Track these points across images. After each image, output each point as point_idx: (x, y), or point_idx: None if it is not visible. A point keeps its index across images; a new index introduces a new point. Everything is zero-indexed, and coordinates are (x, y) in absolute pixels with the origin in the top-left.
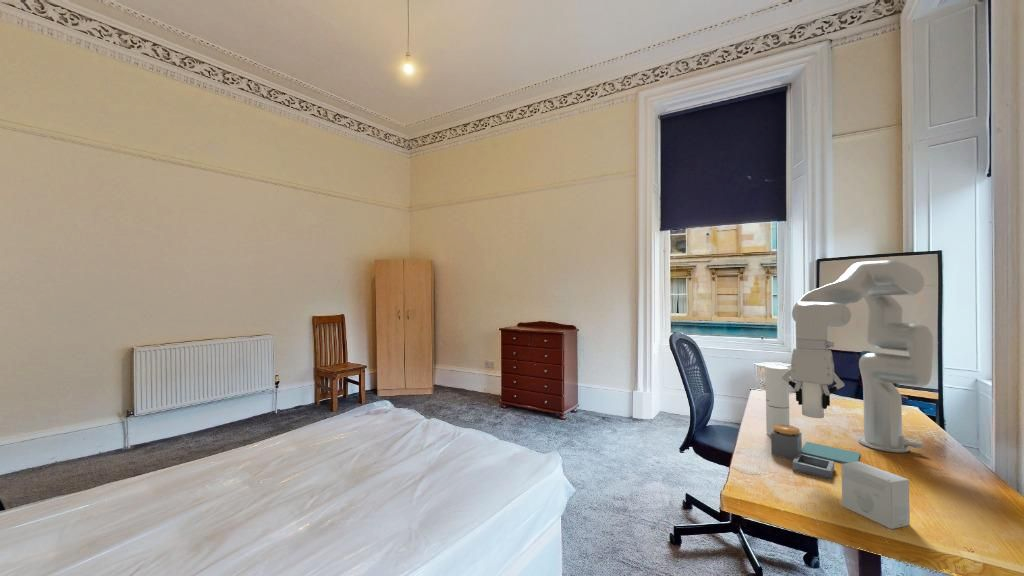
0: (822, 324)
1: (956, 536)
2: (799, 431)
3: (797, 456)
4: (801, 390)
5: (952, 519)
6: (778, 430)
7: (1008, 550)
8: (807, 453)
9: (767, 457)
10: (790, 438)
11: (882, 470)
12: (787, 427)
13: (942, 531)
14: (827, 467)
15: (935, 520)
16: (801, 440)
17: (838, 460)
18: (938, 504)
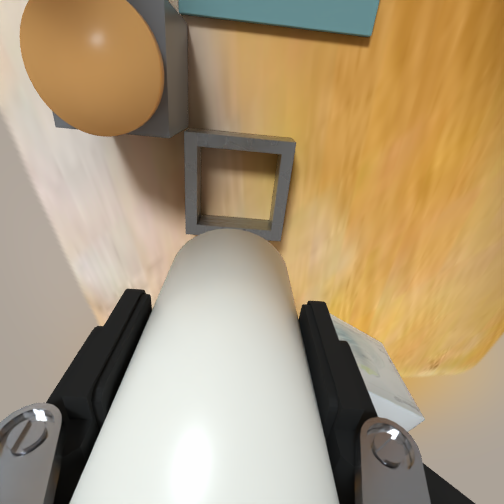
0: None
1: (437, 339)
2: (161, 69)
3: (189, 172)
4: (94, 426)
5: (468, 282)
6: (77, 126)
7: (491, 339)
8: (206, 15)
9: (104, 159)
10: (142, 135)
11: (387, 405)
12: (94, 52)
13: (424, 335)
14: (274, 216)
15: (433, 303)
16: (174, 13)
17: (313, 29)
18: (482, 223)
